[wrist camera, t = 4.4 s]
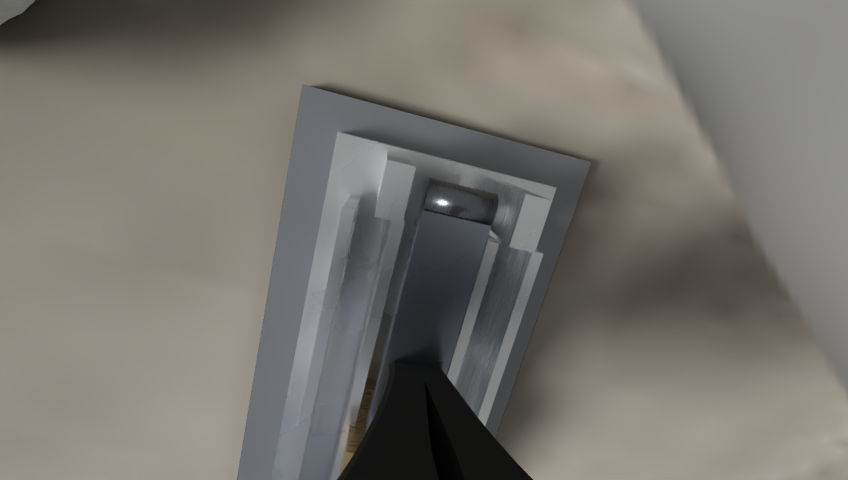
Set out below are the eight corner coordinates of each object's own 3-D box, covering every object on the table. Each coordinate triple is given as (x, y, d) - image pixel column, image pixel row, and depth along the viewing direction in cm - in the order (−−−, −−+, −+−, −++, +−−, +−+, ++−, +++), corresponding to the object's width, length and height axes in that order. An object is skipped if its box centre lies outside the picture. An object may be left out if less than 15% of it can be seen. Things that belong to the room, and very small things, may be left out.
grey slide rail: (420, 562, 16) (431, 696, 12) (261, 547, 15) (218, 687, 11) (543, 183, 12) (613, 206, 9) (341, 132, 11) (318, 131, 8)
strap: (423, 424, 11) (426, 446, 10) (366, 416, 11) (365, 438, 10) (492, 191, 9) (501, 196, 9) (427, 175, 9) (431, 179, 8)
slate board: (442, 567, 17) (444, 583, 17) (228, 548, 16) (222, 563, 15) (582, 161, 13) (591, 161, 12) (306, 86, 12) (302, 84, 11)
